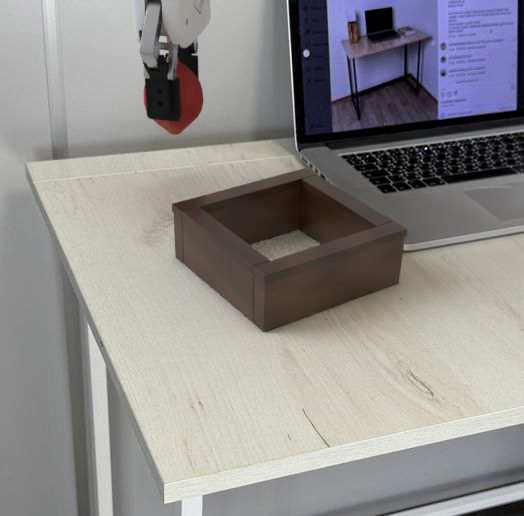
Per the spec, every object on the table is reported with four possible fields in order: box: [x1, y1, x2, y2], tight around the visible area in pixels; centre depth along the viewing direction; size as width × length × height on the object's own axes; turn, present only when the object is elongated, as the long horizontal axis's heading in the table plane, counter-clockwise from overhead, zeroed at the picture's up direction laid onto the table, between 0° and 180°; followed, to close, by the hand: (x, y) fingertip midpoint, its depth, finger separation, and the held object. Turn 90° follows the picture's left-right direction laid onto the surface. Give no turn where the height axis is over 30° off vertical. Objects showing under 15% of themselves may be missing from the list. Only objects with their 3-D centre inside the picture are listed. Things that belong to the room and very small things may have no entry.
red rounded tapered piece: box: [142, 57, 204, 136], centre depth 85 cm, size 6×6×8 cm
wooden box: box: [171, 167, 408, 333], centre depth 78 cm, size 15×15×5 cm
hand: (173, 104), depth 86 cm, fingers closed on red rounded tapered piece, 6 cm apart
